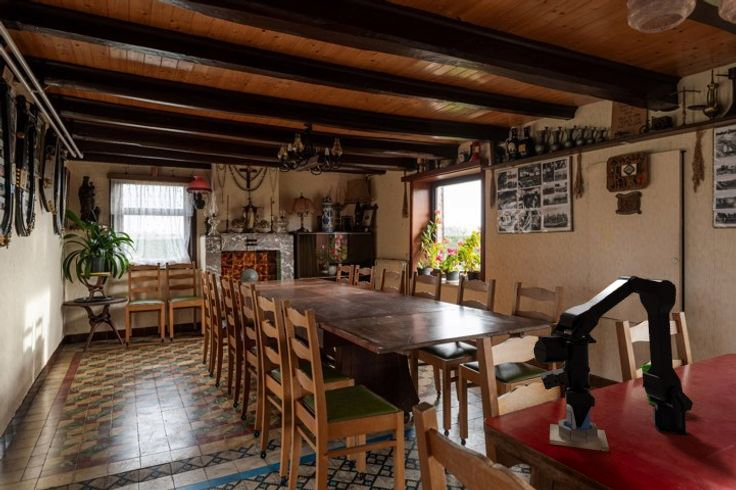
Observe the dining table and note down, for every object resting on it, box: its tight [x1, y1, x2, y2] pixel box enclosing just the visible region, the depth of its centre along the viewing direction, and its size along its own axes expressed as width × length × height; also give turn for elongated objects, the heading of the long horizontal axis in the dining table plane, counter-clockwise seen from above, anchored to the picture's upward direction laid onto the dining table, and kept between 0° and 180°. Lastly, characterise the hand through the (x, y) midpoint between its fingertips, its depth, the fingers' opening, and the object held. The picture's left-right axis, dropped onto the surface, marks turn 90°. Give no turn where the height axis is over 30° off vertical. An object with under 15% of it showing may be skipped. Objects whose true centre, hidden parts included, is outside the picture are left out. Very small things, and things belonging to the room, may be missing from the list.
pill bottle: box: [566, 404, 591, 430], centre depth 118 cm, size 6×5×10 cm
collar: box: [549, 418, 610, 452], centre depth 118 cm, size 13×11×4 cm
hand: (577, 422), depth 118 cm, fingers closed on pill bottle, 5 cm apart
